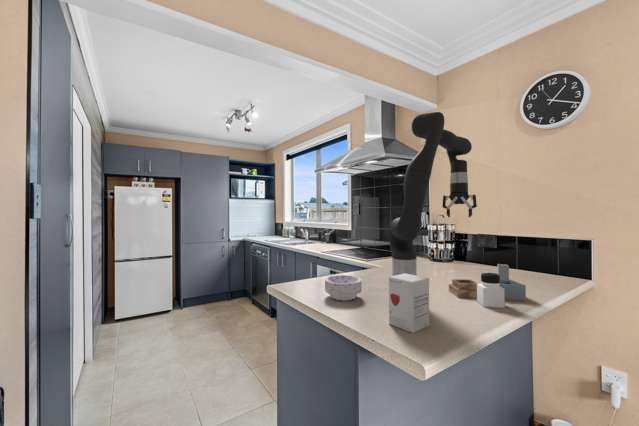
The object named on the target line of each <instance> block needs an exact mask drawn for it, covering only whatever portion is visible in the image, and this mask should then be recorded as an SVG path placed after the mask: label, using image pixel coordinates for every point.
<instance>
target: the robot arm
mask: <svg viewBox="0 0 639 426" xmlns="http://www.w3.org/2000/svg"><path fill="white" fill-rule="evenodd" d="M444 127H445V116H444V114H443V113H442V112H440V111H435V112H434V111H432V112H427V113H420V114H417V115H416V116H414V117H413V119H412V121H411V132H412V134H413V135H414V136H415V137H417V138H419V139H424V140H425V141H424V144H423V146H422V147H421V149H420V151H419V152H418V153H417V154H416V155H415V156H414V157H413V158H412V160H411V161H410V162H409V163H408V165H407V168H406V170H405V171H406V172H405V175H404V179H403V195H404V197H403V198H404V200H403V201H404V202H403V208H402V211H401V215H400V217H396V218H395V219H393V220H392V222H391V223H390V226H389V244H390V245H389V247H390V252H391V276H395V275H400V274H404V273H406V274H411V275H417V273H418V272H417V267H418V266H417V263H418V261H417V260H418V259H417V257H418V256H417V251H416V249H415V248H414V244H413V241H414V240H416V239H417V238H418V236H419V234H420V231H421V223H422V215H423V214H422V213H423V208H424V204H425V200H426V196H427V192H428V187H429V183H430V179H431V176H432V171H433V166H434V160H435V157H436V153H437V150H438V148H439V146H440V147H442V148H443V149H445V151H446V155H447V157H448V161H449V163H450V175H449V192H450V193H449V195H443V196H442V208H443V209H445V210H446V217H448V218H451V209H450V208H452V206H453V205H464V204H465V205H466V207H467V208H468V218H471V217H472V216H473V209H475V208H477V206H478V205H477V195H476V194H469V175H468V161H467V160H465V159H458V158H457V156H458V157H459V156H464V155H468V154H469V153H470V152H471V150H472V149H473V148H472V146H473V145H472V143H471V141H470V140H469V139H468V138H466V137H462V136H458V135H456V134H455V133H453V132H452V131H449V130H447V129H445V128H444ZM448 199H449V200H450V203H449V204H448V205H447V204H446V203H447V201H448ZM468 199H471V200H472V205H471V204H470V203H469V202H468ZM417 276H418V275H417Z"/></svg>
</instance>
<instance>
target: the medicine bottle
mask: <svg viewBox="0 0 639 426" xmlns="http://www.w3.org/2000/svg"><path fill="white" fill-rule="evenodd" d="M499 285H500V276H499V275H498V274H497V273H495V272H488V271H487V272H482V273H481V274H480V283H478V284H477V298H476V300H477V303H479V305H480V306H482V307H484V308H492V309H496V308H497V309H505V308H506V300H505V289H504V288H502V287H500V286H499Z"/></svg>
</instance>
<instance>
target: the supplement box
mask: <svg viewBox="0 0 639 426" xmlns="http://www.w3.org/2000/svg"><path fill="white" fill-rule="evenodd" d="M388 324H389V325H391V326H394V327H397V328H399V329H402V330H404V331H407V332H410V333H412V334H414V333H416V332H418V331H420V330H423V329H425V328H427V327H429V326H430V277H427V276H421V275H411V274H406V273H404V274H400V275H395V276H392V275H391V276H388Z"/></svg>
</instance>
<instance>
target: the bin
mask: <svg viewBox="0 0 639 426" xmlns="http://www.w3.org/2000/svg"><path fill="white" fill-rule="evenodd" d="M499 286H500V287H502V288H504V289H505V301H506V300H507V301H512V300H513V301H526V299H527V298H526V297H527V296H526V295H527V294H526V291H527V289H526V288H527V287H526V286H527V285H526V284H523V283H522V282H519V281H516V280H514V279H511V278H509V284H500V285H499Z"/></svg>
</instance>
